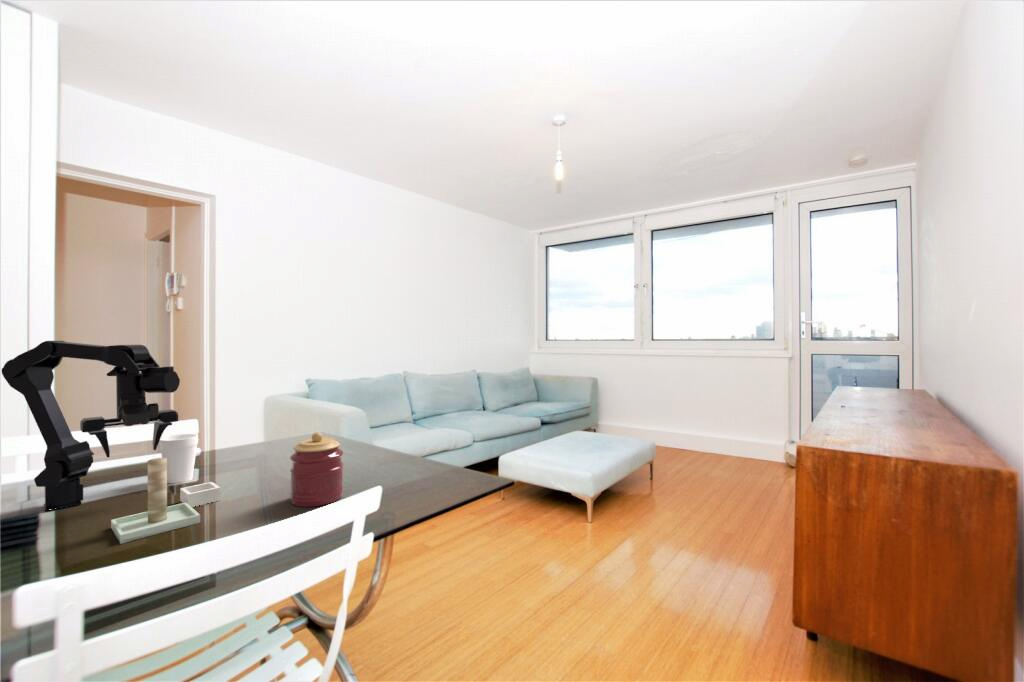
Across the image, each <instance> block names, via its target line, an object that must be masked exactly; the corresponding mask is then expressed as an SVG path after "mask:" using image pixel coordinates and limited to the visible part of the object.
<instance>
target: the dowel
mask: <svg viewBox="0 0 1024 682" xmlns="http://www.w3.org/2000/svg"><path fill="white" fill-rule="evenodd" d="M167 507H168V483H167V458H162V457H157V458H152V459H148V460H147V511H148V523H158V522H161V521H164V520H166V519H167Z"/></svg>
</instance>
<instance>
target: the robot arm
mask: <svg viewBox="0 0 1024 682" xmlns="http://www.w3.org/2000/svg"><path fill="white" fill-rule="evenodd" d="M63 358H71V359H78V360H79V359H80V360H91V361H99V362H101V363H104V364H106V365H107V366H108V365H109V366H112V367H113V368H112V370H110V371H108V372H107V373H106V376H107V377H115V378H116V379H115V380H116V381H115V382H116V391H115V392H116V418H115V417H114V418H104V417H103V416H95V417H94V416H93V417H92V416H91V417H85V418H82V419H81V420H80V422H79V423H80V428H79V429H80V431H81V432H82V433H88V434H89V435H90V436H95V438H97V440H98V441H99V443H100V445H101V447H102V449H103V452H104V453H105V455H106V458H110V456H111V455H110V452H111V451H110V447H109V441H108V433H107V431H106V430H105V429H106V427H115V426H122V425H123V426H125V427H132V426H135V425H147V424H149V423H150V422H153V432H152V433H153V437H152V449H153V451H156V450H157V448H158V445H159V441H160V438H162V435H163V434H164V432H165V431H166V429H167V428H168V426H172V425H173V423H176V422H179V414H178V412H177V411H176V410H173V409H162V410H160V409H159V403H157V402H155V403H154V402H153V403H147V402H146V401H147V400H146V399H147V398H146V393H148V394H156V393H157V394H158V393H159V394H160V393H161V394H162V393H165V394H166V393H167V394H169V393H170V394H171V393H175V392H176V391H177V390H178V389H179V386H180V382H181V379H180V378H179V375H178V373H177V372H176V371H175V367H174V366H168V365H167V366H160V365H159V364H158V363H157V361H156V360H155V358H154V357H153V356H152V354H150V350H149V349H148V348H147V346H146V345H143V344H117V345H101V344H100V345H99V344H92V343H91V344H90V343H78V342H70V341H65V340H45V341H43V342H41V343H39V344H38V345H37V346H35V347H33V348H31V349H29V350H26V351H25V352H22V353H20V354H18V355H16V356H15V357H14V358H12V359H9V360H7V361H6V362H5V363H4V365H3V367H2V368H1V375H2V377H3V378H4V380H5V381H6V382H7V384H8V385H9V387H11V388H12V389H13V390H15V391H17V392H19V394H22V396H24V399H25V401H26V403H27V406H28V408H29V410H30V412H31V414H32V416H33V419H34V421H35V423H36V425H37V428H38V429H39V432H40V434H41V437H42V438H43V440H44V443H45V445H46V451H45V454H44V458H43V461H44V466H45V468H44V469H42V471H40V473H39V474H38V475H36V476H35V477H34V479H33V481H34V483H35V486H36V487H37V488H41V487H42V488H43V487H44V503H43V508H45V509H44V511H45V510H49V509H55V508H61V507H65V508H67V507H66V506H70V507H74V506H73V505H75V506H80V505H82V503H83V502H82V501H83V500H84V484H83V482H81V478H83V477H87V475H88V473H89V470H90V468H91V467H92V464H93V463H94V457H93V456H94V455H95V453H94V452H93V451H92V449H91V447H90V444H89V442H88V441H87V440H86V441H85V440H84V441H82V442H80V441H79V440H77V439H76V438H74V436H73V434H72V431H71V430H70V428H69V425H68V422H67V421H66V418H65V417H64V414H63V412H62V409H61V408H60V406H59V404H58V401H57V399H56V397H55V394H54V392H53V390H52V385H53V381H54V379H55V376H54V371H53V370H54V369H56V368H57V367H58V366H59V365H61V363H62V360H63ZM61 509H62V508H61Z"/></svg>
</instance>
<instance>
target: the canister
mask: <svg viewBox="0 0 1024 682" xmlns="http://www.w3.org/2000/svg"><path fill="white" fill-rule="evenodd" d="M340 445H341V444H340V442H339V441H337V440H335V439H334V438H332V437H323V434H322V433H321V432H317V431H316V432H314V433H313V434H312V435H311V438H309V439H303V440H301V441H300V442H299V443H298V444H296V445H295V446H294V447H293V450H294V453H292V454H291V455H290V460H291V461H292V464H291V465H292V466H291V468H290V470H289V471H290V487H291V488H290V493H289V494H290V495H289V497H290V500H291V503H292V504H293V505H294V506H297V507H305V508H306V507H319V506H324V505H328V504H331V503H334V502H337V501H338V500H340V499H341V498H342V497H343V493H344V491H345V490H344V483H343V481H344V468H343V467H344V462H342V456H343V454H344V451H343V449H342V448H340V447H339V446H340ZM341 496H342V497H341ZM340 497H341V498H340Z"/></svg>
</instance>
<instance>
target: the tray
mask: <svg viewBox="0 0 1024 682" xmlns="http://www.w3.org/2000/svg"><path fill="white" fill-rule="evenodd" d="M200 523H201V514H200V513H199V512H197V511H196V510H195V509H194V507H191V506H190V505H189V504H187V503H186V502H185V503H181V502H180V503H178V504H173V505H167V519H166V520H164V521H161V522H158V523H148V510H147V511H144V512H139V513H136V514H131V515H125V516H122V517H117V518H114V519H110V527H111V530H112V532H113V533H114V536H115V537H116V539H117V540H118V542H119V544H121V545H122V544H125V543H129V542H133V541H137V540H140V539H143V538H148V537H151V536H156V535H159V534H163V533H166V532H170V531H174V530H178V529H181V528H185V527H189V526H193V525H197V524H200Z"/></svg>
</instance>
